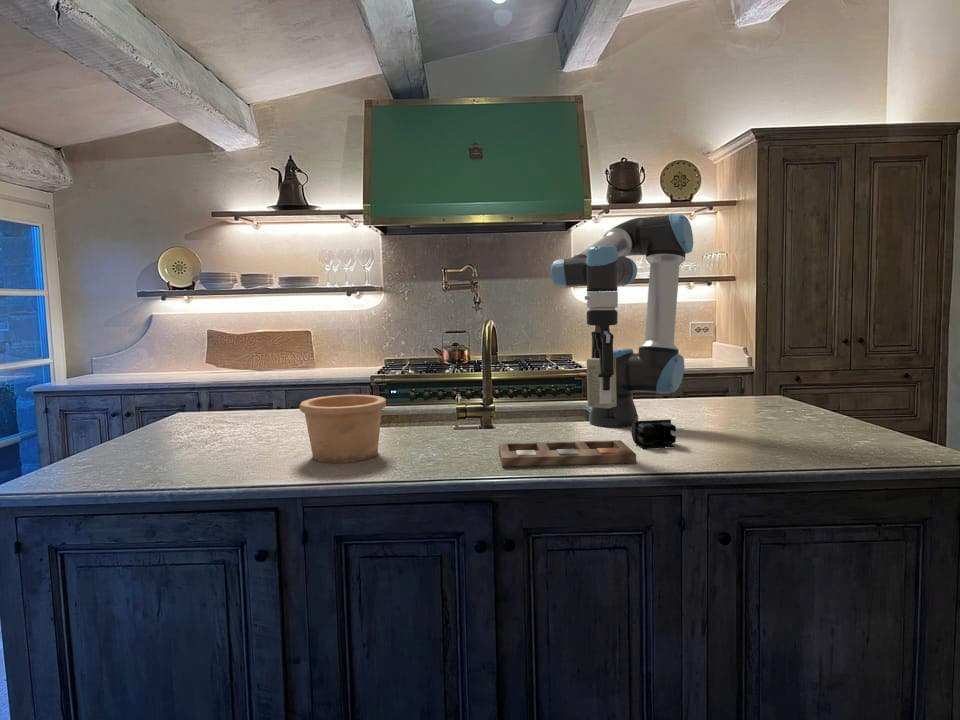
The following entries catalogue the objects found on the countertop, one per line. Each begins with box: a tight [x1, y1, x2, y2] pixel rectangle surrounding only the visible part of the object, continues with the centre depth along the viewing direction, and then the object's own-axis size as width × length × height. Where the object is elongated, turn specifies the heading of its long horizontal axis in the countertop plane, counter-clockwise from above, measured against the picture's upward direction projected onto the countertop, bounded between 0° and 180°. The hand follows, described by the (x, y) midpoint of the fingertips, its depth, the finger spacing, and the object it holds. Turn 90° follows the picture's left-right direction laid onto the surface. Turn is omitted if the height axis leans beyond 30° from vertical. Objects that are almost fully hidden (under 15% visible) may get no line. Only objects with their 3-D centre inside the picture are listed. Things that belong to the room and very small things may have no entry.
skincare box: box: [586, 357, 617, 408], centre depth 161 cm, size 6×4×12 cm
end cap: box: [631, 419, 677, 450], centre depth 171 cm, size 10×7×7 cm
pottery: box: [299, 394, 387, 464], centre depth 167 cm, size 22×22×14 cm
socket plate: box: [498, 439, 637, 469], centre depth 160 cm, size 32×15×3 cm, turn 92°
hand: (601, 400), depth 162 cm, fingers closed on skincare box, 7 cm apart
